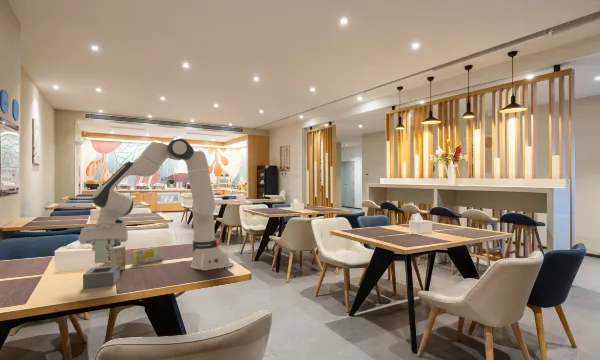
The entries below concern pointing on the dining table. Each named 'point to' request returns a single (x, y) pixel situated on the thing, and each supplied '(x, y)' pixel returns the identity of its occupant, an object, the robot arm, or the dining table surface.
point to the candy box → (146, 255)
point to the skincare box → (117, 256)
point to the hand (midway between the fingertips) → (101, 249)
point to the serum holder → (101, 276)
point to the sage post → (101, 251)
